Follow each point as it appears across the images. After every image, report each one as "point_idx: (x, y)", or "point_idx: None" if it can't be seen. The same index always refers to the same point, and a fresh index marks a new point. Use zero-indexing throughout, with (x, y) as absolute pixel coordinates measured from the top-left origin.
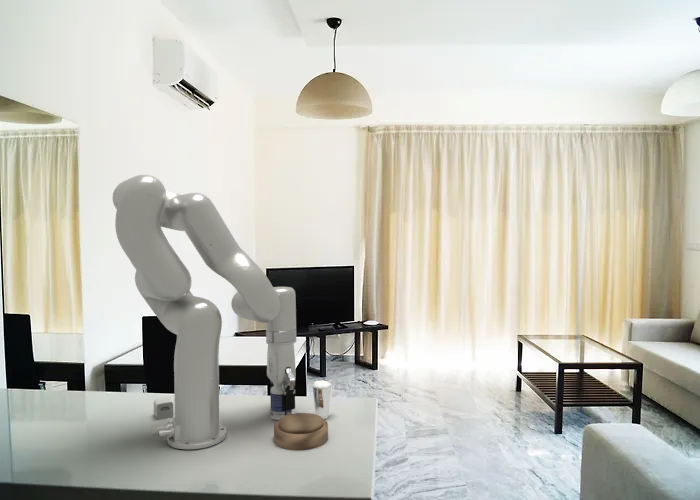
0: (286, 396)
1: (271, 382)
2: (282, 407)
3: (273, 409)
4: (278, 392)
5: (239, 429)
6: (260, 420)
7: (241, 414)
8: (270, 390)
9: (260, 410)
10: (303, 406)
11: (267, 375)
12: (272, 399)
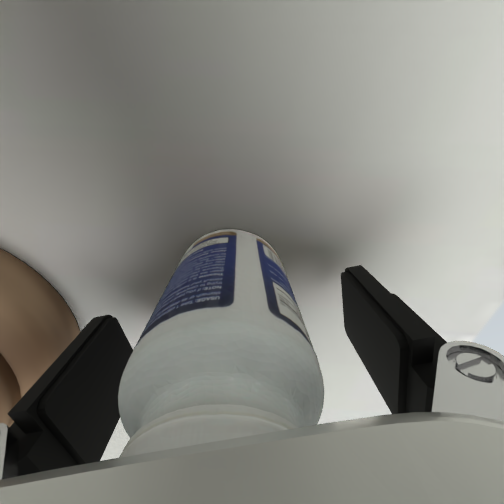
0: (12, 426)
1: (442, 351)
2: (85, 328)
3: (184, 261)
4: (121, 382)
5: (54, 17)
6: (200, 170)
7: (335, 43)
8: (224, 317)
9: (359, 178)
10: (333, 361)
11: (492, 443)
12: (175, 289)
